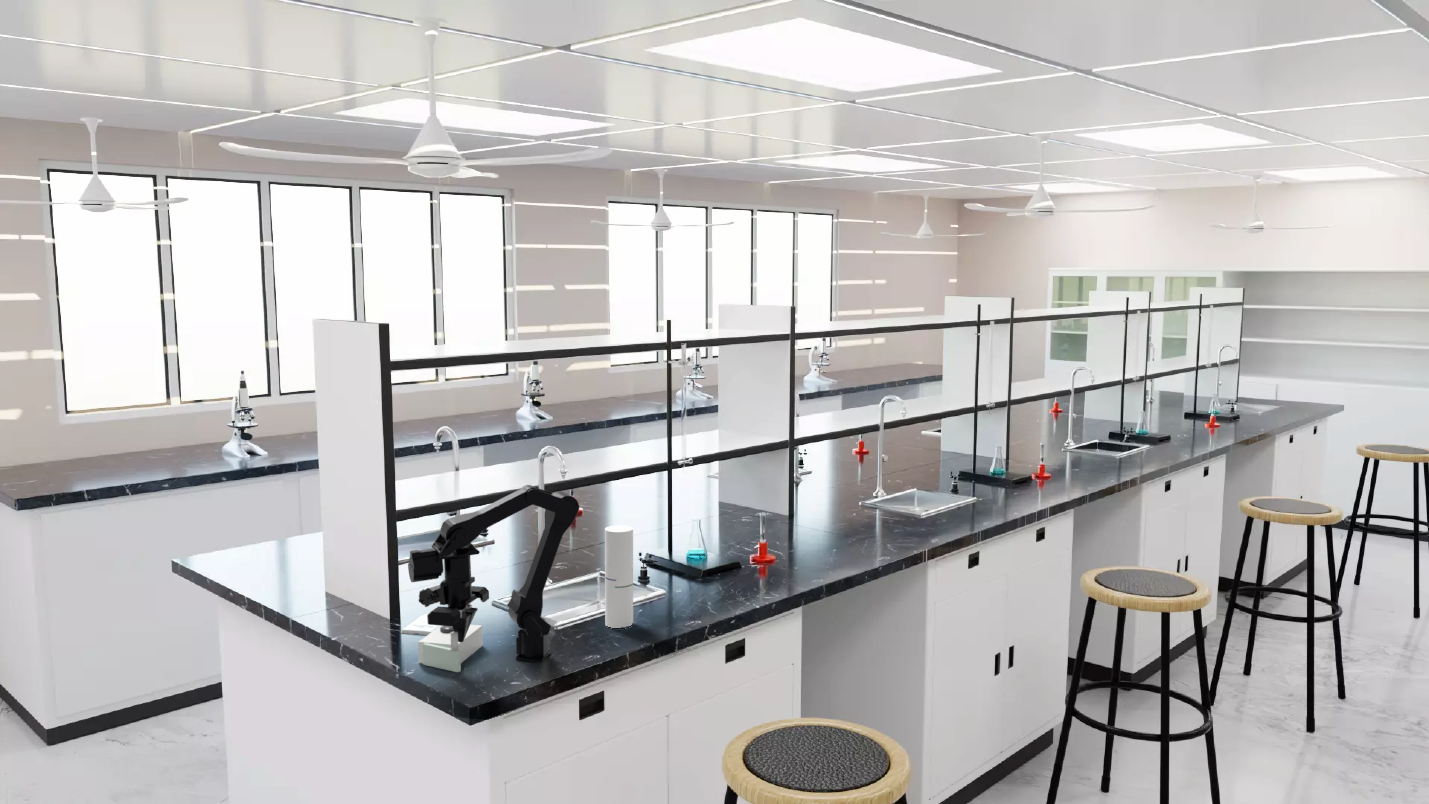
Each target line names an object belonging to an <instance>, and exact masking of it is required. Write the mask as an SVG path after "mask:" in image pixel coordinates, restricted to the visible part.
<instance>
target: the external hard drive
mask: <svg viewBox="0 0 1429 804" xmlns="http://www.w3.org/2000/svg"><path fill="white" fill-rule="evenodd" d="M428 614H429V613H424V614H422V615H420V616H419V617H418V618H417V619H415V620H414V621H412V622H411V623H409V624H408V625H407V626H405V627H404V628H402V629H401V631H400V634H407V635H408V634H409V635H422V636H427V635H429V634H430V633H431V632H433V631H434V630H436V629H437V628H438V627H440V625H429V624H428V621H427V615H428Z"/></svg>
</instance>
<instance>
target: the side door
mask: <svg viewBox="0 0 1429 804" xmlns="http://www.w3.org/2000/svg"><path fill="white" fill-rule="evenodd" d="M450 634H451V648H448V647H443V646H438V645H434V644H429V643H424V644H423V663H422V665H424V666H428V667H432V668H437V669H441V670H445V671H450V672H454V673H459V672H461V671H462V668H461V665H462V663H461V660H460V650H458V632H456V631H454V632H451V633H450Z"/></svg>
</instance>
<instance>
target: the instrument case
mask: <svg viewBox="0 0 1429 804" xmlns="http://www.w3.org/2000/svg"><path fill="white" fill-rule="evenodd" d="M451 632H454V629H453V627H452V626H440V627H438V628H437V629H436V630H434V631H433V632H431V633H430V634H429V635H425V636H424V637H423V638H421V639H420V640H419V641H417V652H418V664H423V644H424V643H429V644H434V645H438V646H443V647H448V648H451V634H450V633H451ZM483 642H484V641H483V625H480V624H470V627H469V629H468V631H467V634H466V636H465V638H464V641H463V642H458V650H460V660H461V664H462V663H464V661H466V660H467V659H468V658H470V657H471V656H472V655H473V654H474V653H476V652H477V651H478V650H479V649H480V648H482V647H483V645H484V644H483Z"/></svg>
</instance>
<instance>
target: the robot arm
mask: <svg viewBox="0 0 1429 804" xmlns="http://www.w3.org/2000/svg"><path fill="white" fill-rule="evenodd" d="M530 506H536V507H539V508H541V509H544V527H543V528H544V529H543V531H542V533H541V534H542V535H541V536H540V539H539V542H538V546H537V548H536V551H535V553H534V557H533V559H532V563H531V564H530V569H529V571H528V573H527V576H526V580H525V582H524V583H523V586H522V587H521V588H520V589H519V590H516V589H513V590H512V592H511V597H510V599H509V602H508V603H507V604H506V606H507V607H508V615H509V617H510V618H509V619H511V620H512V621H513V622H514V623H515V625H517V627H518V628H520V629H519V630H518V631H517V637H516V638H515V641H516V642H515V652H516V656H515V660H519V661H528V662H540V663H541V662H543V661H544V660H546V658H547V657H548V656H549V655H550V654H552V650H550V649H549V633H550V631H551V627H552V625H550V623H548V621H546V620H545V619H544V618H543V617H542V614H543V608H544V605H543V604H544V601H543V600H544V597H543V596H544V590H545V587H546V584H547V581H548V578H549V577H550V573H551V570H552V567H553V564H554V561H555V558H556V556H557V553H558V550H559V547H560V544H561V541H562V538H563V536H564V534H565V533H566V532H567V530H569V528H570V527H571V526H572V524H573V523H574V521H575V519H576V517H577V516H578V514H579V511H580V503H579V502H578V499H576V497H574V496H572V495H570V494H568V493H566V492H564V491H561V490H560V491H559V490H558V491H554V492H552V491H548V490H545V489H542V488H538V487H535V486H533V485H532V484H526V485H523V486H522V487H521V488H519V489H518V490H515V491H514V492H512V493H510V494H508V495H506V496H504V497H501V498H499V499H498V500H496V501H494V502H493V503H490V504H488V505H487V506H485V507H482V508H480V509H478V510H476V511H472V512H467V513H462V514H458V515H455V516H453V517H449V518H447V519H445V521H443V522H442V524H441V527H440V532H439V534H438V535H437V537H436V539H435V540H434V542H433V543H432V544H431V548H427V549H421V550H419V549H415V550H414V549H413V550H410V551H409V558H408V563H407V569H408V574H409V575H408V576H409V579H410V582H411V583H417V582H424V581H431V580H437V579H439V578H440V577H441V576H442V574H444V580H442V581H440V583H439V584H438V585H435V586H432V587H427V588H425V589H422V590H421V589H420V591H419V595H418V603H420V604H421V606H422V605H423V606H424V607H425V608H428V607H430V606H431V605H434V604H439V605H440V606H439V605H438V606H437V607H436V608H434V609H432V610H431V611H429V613H427V614H428V615H427V621H428V624H429V625H440V626H452V627H453V629H454V631H456V632H458V642H463V641H464V638H465V636H466V634H467V631H468V629H469V627H470V625H472V621H473V620H474V617H475V615H476V613H477V612H478V608H477V607H473V605H472V602H474V601H475V600H477V599H480V602H481V603H485V602H486V601H488V600H490V591H489V589H488V588H487V587H486V586H477V585H472V584H473V583H474V582H476V578H475V576H472V567H471V565H472V563H471V562H472V561H471V556H474V555H475V556H476V555H480V553H481V552H480V550H479V549H478V548H477V547H475V546H474V544H473V543H472V542H473V541H475V540H476V539H478V537H480V535H481V534H482V533H483V532H484V531H485V530H487V529H488V528H491V527H492V526H494V525H496V524H497V523H499V522H502V521H504V520H505V519H508V518H509V517H512V516H513V515H515V514H517V513H519V512H521V511H523V510H525V509H526V508H528V507H530ZM441 605H442V606H441ZM446 605H447V606H446Z"/></svg>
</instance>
